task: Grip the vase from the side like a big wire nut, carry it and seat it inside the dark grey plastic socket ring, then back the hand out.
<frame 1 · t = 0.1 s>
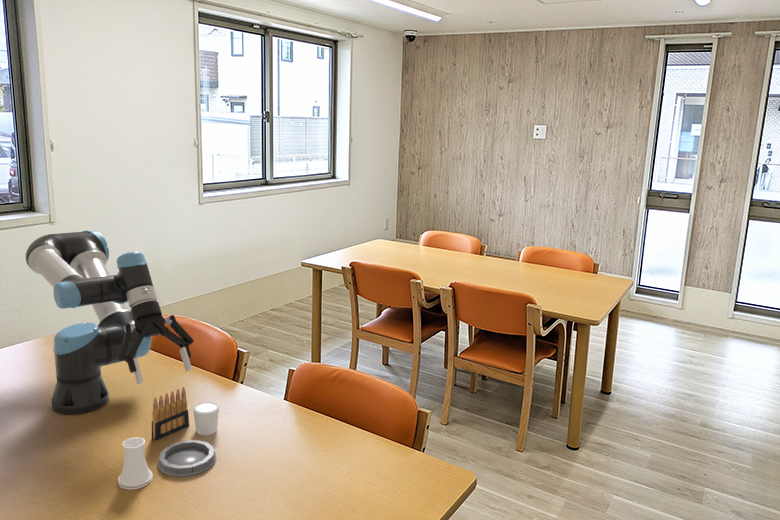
hand: (165, 376, 164), 15 cm above the table, tool tilted 35°, fingers open, 13 cm apart
socket ring: (187, 460, 152), on the table
vase: (135, 481, 143), on the table
shot glass: (206, 430, 167), on the table
ammunition clip: (170, 432, 165), on the table
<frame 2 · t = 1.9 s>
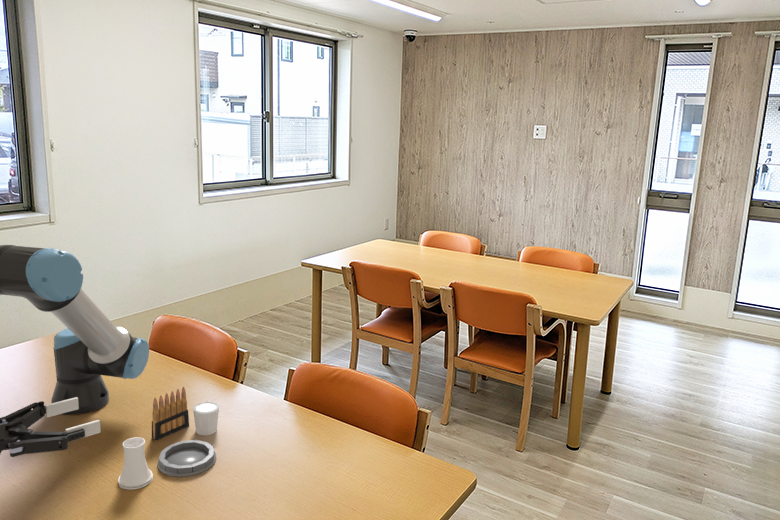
hand: (88, 414, 132), 20 cm above the table, tool horizontal, fingers open, 13 cm apart
nothing on the table moved.
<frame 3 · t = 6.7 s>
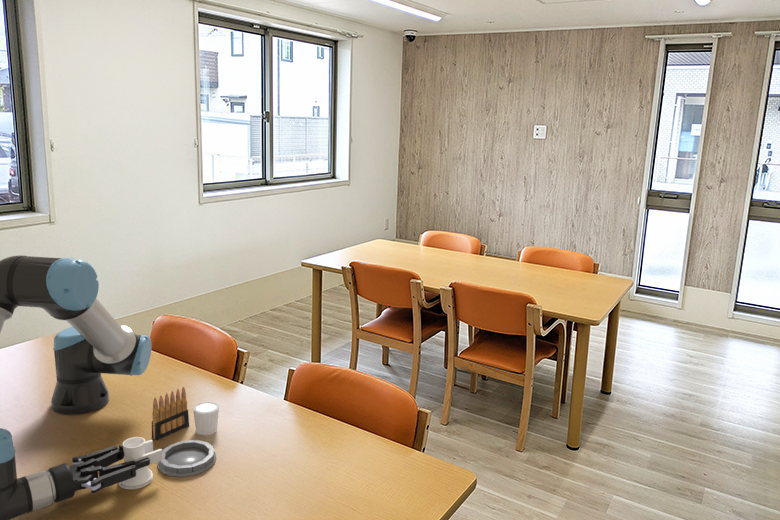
hand: (156, 449, 145), 6 cm above the table, tool horizontal, fingers closed on vase, 5 cm apart
vase: (135, 480, 143), on the table, touching gripper
everything else where it was.
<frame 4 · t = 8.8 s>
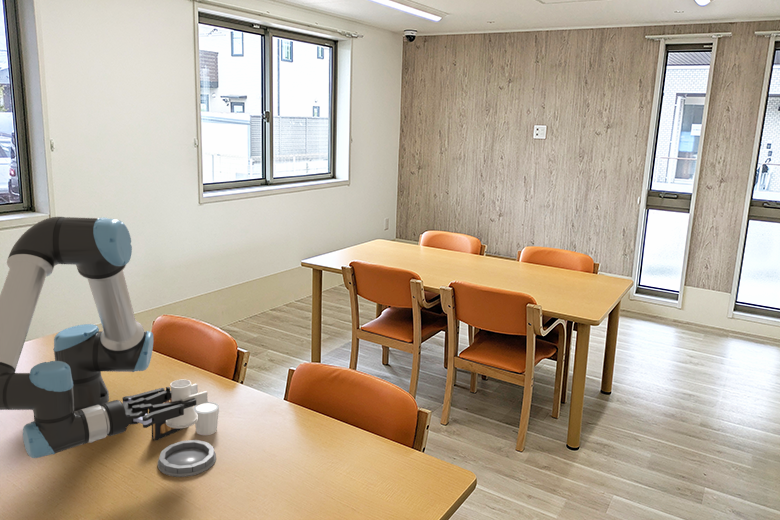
hand: (201, 392, 150), 18 cm above the table, tool horizontal, fingers closed on vase, 5 cm apart
vase: (181, 421, 148), point 12 cm above the table, touching gripper
everything else where it was.
when the fingers open (8 cm above the table, at t = 11.0 s): vase drops 1 cm, resting on socket ring.
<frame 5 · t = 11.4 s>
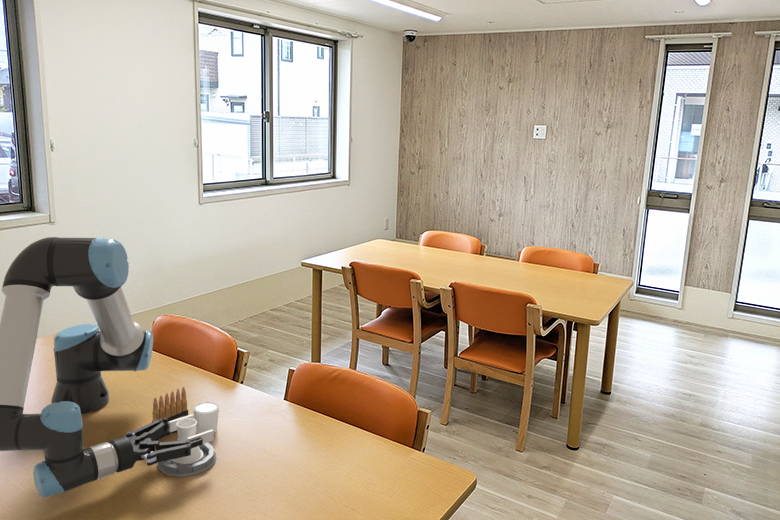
hand: (202, 426, 153), 8 cm above the table, tool horizontal, fingers open, 9 cm apart
vase: (187, 459, 152), resting on socket ring
everything else where it was.
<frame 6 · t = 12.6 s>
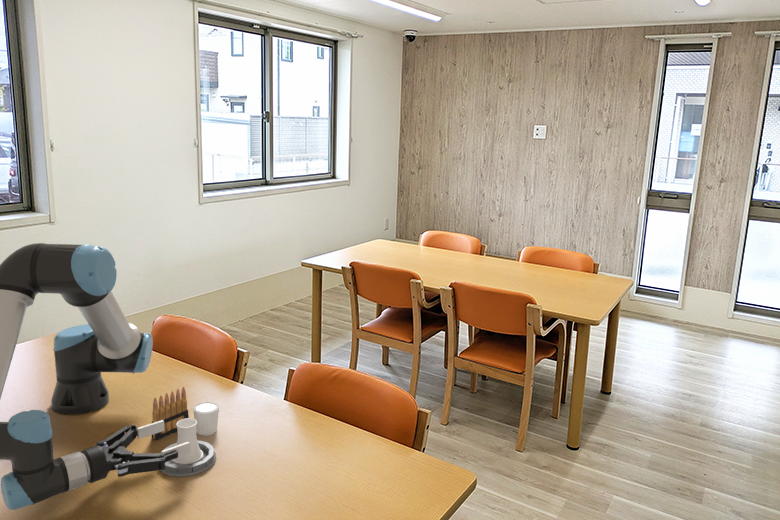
hand: (176, 435, 148), 8 cm above the table, tool horizontal, fingers open, 13 cm apart
nothing on the table moved.
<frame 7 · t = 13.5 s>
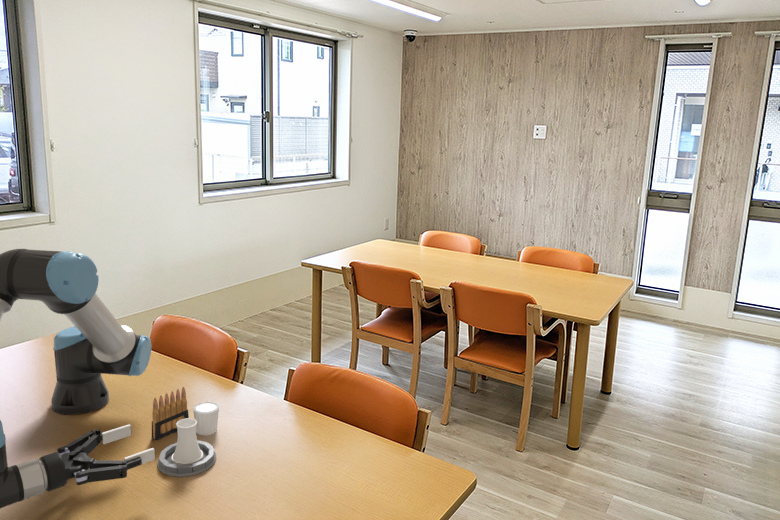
hand: (141, 441, 142), 9 cm above the table, tool horizontal, fingers open, 13 cm apart
nothing on the table moved.
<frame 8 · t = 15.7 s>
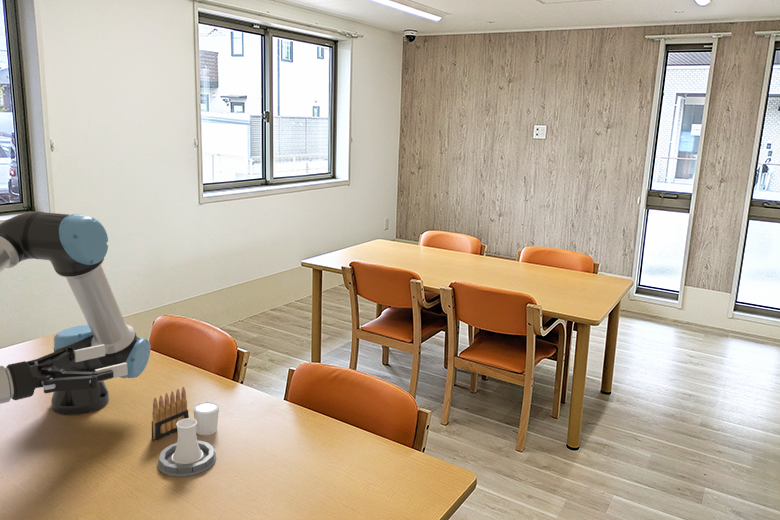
hand: (115, 358, 138), 30 cm above the table, tool horizontal, fingers open, 13 cm apart
nothing on the table moved.
at the end: vase 0.1 cm from the socket ring (horizontally); vase tilted 0°; vase resting on socket ring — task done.
